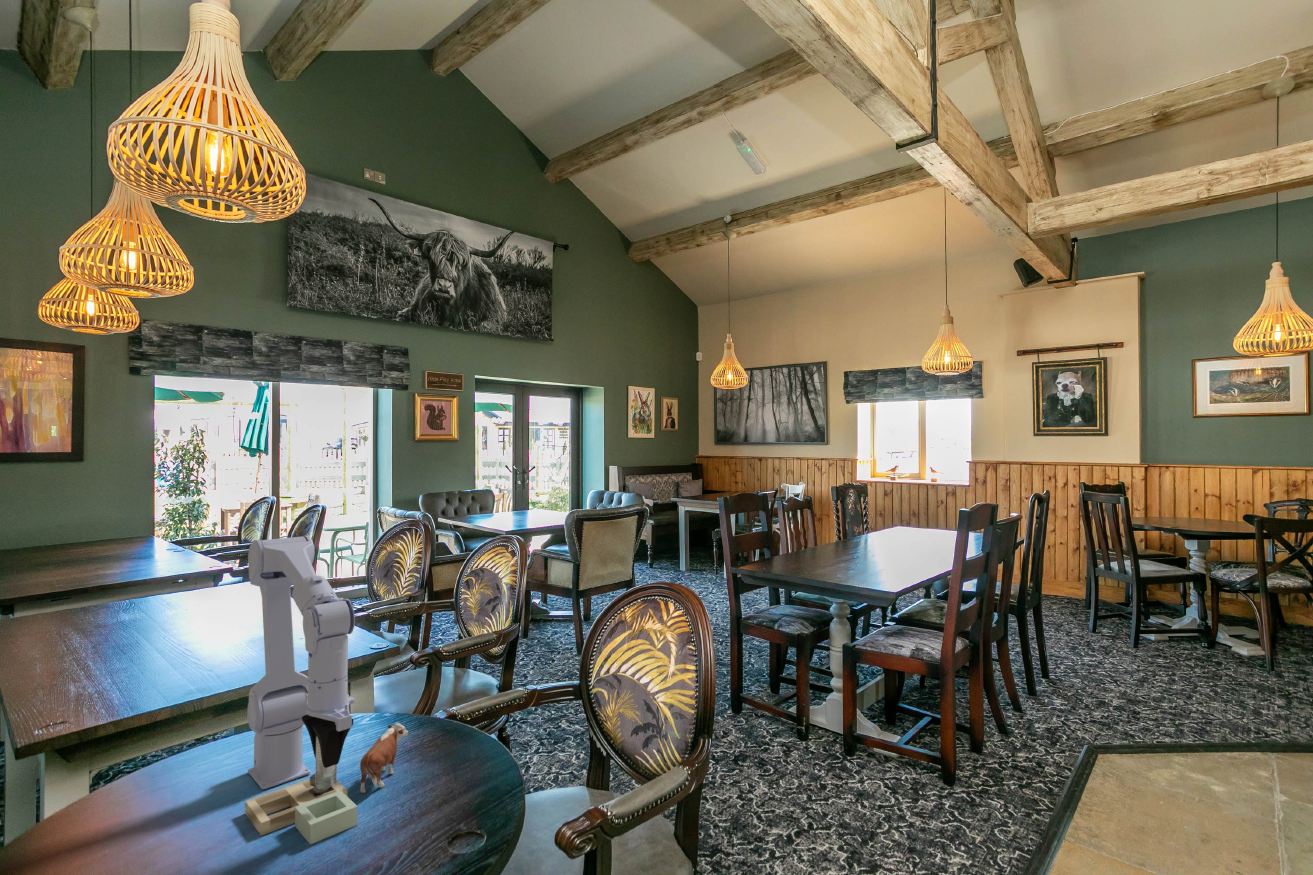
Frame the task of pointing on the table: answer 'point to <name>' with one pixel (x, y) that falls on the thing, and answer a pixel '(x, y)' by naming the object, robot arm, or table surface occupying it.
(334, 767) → the silver metal cylinder
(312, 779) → the round dark knob
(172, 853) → the table surface
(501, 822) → the table surface
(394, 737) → the bull figurine
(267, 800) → the socket block
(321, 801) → the grey-green hollow square block
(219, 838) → the table surface
